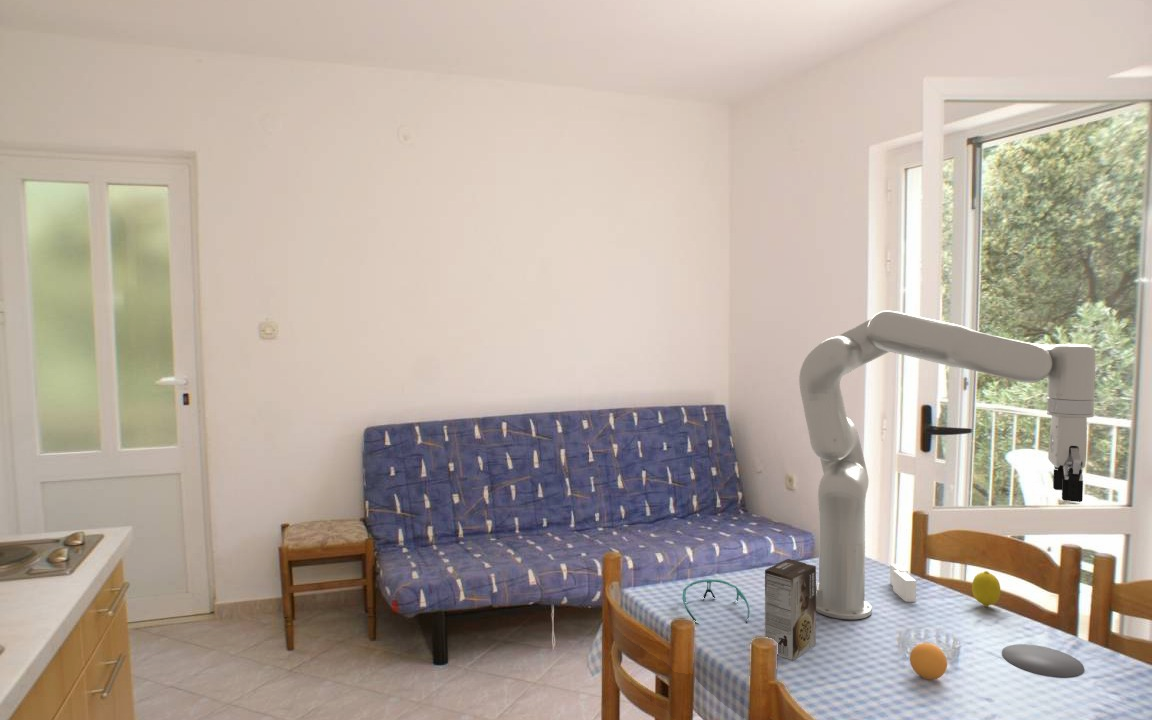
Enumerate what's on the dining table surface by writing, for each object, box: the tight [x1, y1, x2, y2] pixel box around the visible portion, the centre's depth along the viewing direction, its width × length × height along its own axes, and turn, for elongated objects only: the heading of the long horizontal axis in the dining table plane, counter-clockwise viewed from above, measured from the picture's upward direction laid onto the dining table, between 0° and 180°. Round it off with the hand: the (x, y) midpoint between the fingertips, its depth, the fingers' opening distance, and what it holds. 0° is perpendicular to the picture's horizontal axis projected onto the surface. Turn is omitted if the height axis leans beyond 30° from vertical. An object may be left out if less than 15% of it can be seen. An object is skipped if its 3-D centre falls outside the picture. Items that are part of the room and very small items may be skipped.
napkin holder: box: [889, 563, 917, 603], centre depth 174 cm, size 15×11×6 cm
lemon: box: [971, 570, 1001, 608], centre depth 164 cm, size 6×6×8 cm
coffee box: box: [764, 558, 817, 661], centre depth 144 cm, size 9×6×16 cm
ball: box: [909, 642, 948, 680], centre depth 132 cm, size 6×6×6 cm
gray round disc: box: [1001, 643, 1085, 678], centre depth 139 cm, size 13×13×1 cm
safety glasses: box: [682, 578, 750, 622], centre depth 163 cm, size 14×15×5 cm
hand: (1067, 495), depth 145 cm, fingers open, 9 cm apart
